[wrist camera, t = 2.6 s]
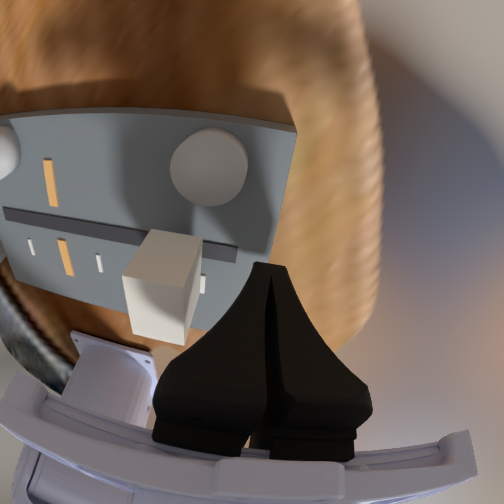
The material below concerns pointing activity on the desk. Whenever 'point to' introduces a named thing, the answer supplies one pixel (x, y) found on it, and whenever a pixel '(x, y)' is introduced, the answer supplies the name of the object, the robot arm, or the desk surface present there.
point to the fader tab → (164, 285)
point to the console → (139, 196)
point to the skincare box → (2, 252)
